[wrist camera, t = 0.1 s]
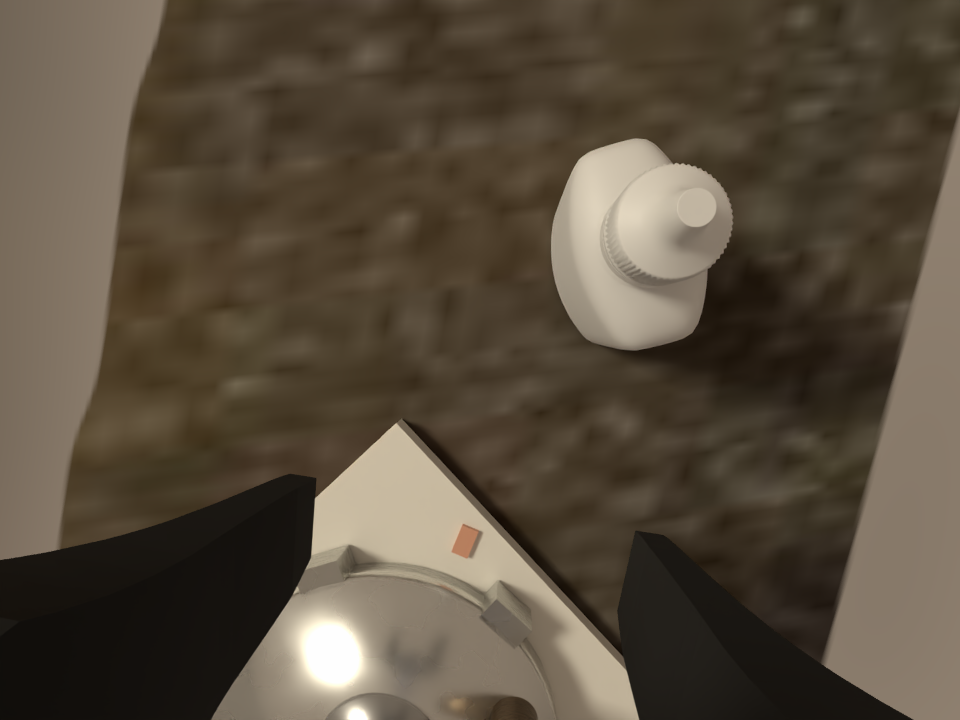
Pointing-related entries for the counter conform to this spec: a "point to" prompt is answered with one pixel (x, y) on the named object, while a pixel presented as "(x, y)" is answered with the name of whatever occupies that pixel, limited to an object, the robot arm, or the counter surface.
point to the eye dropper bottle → (637, 245)
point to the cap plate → (468, 562)
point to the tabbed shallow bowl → (392, 650)
